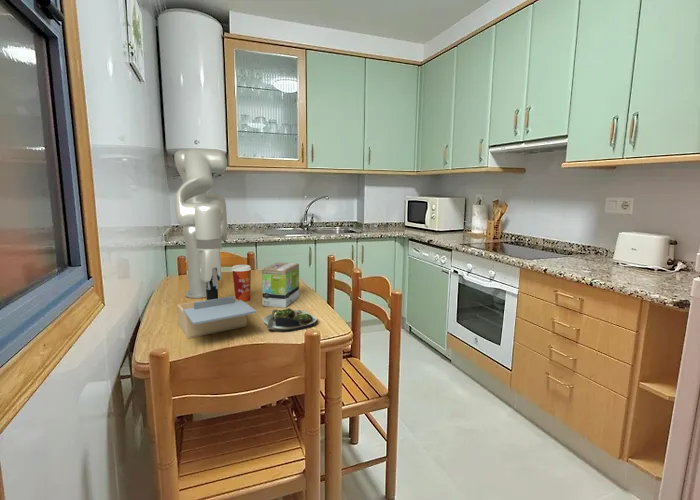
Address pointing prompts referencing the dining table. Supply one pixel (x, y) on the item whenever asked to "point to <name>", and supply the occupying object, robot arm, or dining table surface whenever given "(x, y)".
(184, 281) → the dining table surface
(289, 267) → the tea box
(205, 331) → the box
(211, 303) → the lid
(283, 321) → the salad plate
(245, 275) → the paper cup
